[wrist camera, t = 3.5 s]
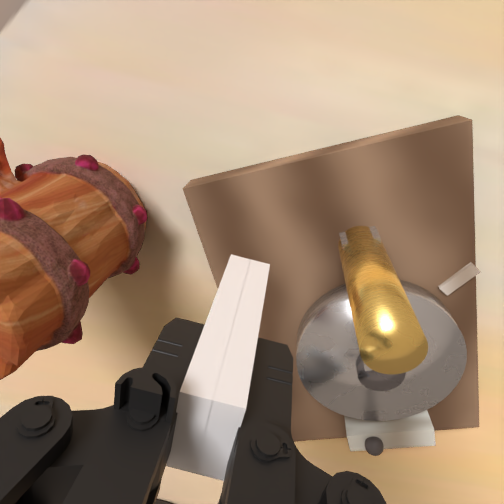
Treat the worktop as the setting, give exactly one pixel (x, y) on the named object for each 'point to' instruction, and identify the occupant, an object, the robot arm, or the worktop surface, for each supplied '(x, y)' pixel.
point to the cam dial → (378, 339)
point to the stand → (328, 258)
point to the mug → (60, 248)
